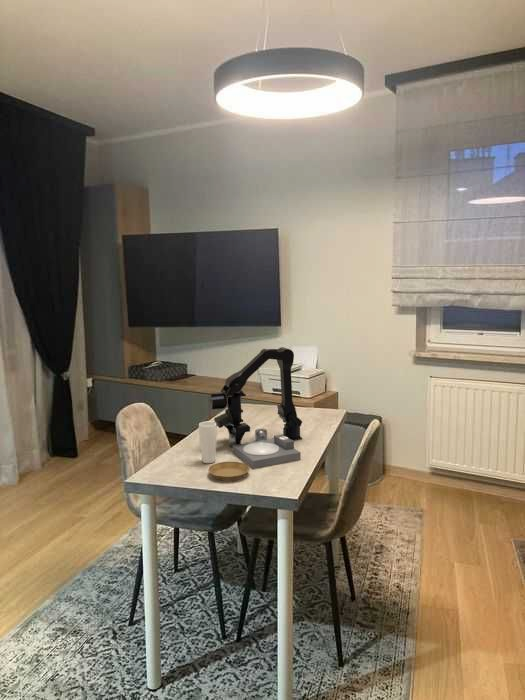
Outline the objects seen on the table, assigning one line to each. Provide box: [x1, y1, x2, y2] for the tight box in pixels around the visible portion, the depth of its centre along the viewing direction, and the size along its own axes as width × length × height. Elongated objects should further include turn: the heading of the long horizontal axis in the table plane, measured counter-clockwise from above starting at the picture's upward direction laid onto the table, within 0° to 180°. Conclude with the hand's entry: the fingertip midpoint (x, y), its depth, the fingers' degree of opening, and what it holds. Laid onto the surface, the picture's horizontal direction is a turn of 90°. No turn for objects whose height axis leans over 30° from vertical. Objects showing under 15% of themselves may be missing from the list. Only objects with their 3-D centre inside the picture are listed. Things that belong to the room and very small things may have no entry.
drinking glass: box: [198, 420, 218, 464], centre depth 202 cm, size 7×7×15 cm
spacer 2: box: [254, 428, 268, 442], centre depth 225 cm, size 5×5×5 cm
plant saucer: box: [207, 460, 251, 482], centre depth 189 cm, size 15×15×3 cm
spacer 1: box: [228, 433, 242, 449], centre depth 220 cm, size 5×5×5 cm
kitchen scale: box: [232, 434, 302, 470], centre depth 207 cm, size 20×20×6 cm
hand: (235, 443), depth 220 cm, fingers open, 5 cm apart
